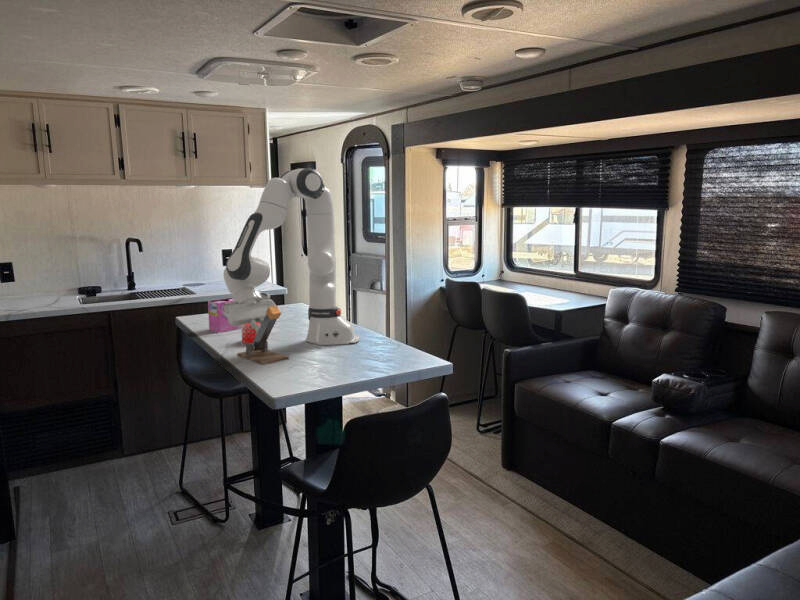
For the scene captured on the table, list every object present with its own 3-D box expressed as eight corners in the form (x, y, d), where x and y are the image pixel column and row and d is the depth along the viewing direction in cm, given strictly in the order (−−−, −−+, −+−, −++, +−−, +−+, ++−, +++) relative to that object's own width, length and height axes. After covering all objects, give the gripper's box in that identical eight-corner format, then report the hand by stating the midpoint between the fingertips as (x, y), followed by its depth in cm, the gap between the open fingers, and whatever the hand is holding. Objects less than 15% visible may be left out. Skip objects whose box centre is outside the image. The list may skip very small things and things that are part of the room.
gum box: (251, 322, 288) (250, 294, 285) (262, 324, 283) (261, 296, 281) (208, 330, 269) (207, 300, 267) (219, 333, 264) (218, 302, 262)
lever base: (237, 355, 228) (236, 342, 227) (262, 350, 235) (262, 337, 235) (263, 364, 215) (262, 351, 214) (288, 358, 223) (288, 345, 222)
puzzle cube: (259, 344, 245) (259, 325, 244) (242, 342, 247) (241, 324, 246) (268, 339, 253) (267, 321, 252) (251, 338, 255) (250, 320, 253)
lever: (248, 346, 227) (267, 307, 215) (259, 344, 231) (277, 305, 218) (253, 353, 226) (272, 314, 213) (263, 351, 229) (282, 312, 216)
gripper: (224, 298, 220) (239, 329, 215) (272, 293, 234) (287, 321, 229) (219, 309, 224) (233, 339, 218) (266, 302, 238) (280, 331, 233)
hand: (261, 330), depth 224 cm, fingers closed, pressing on lever
